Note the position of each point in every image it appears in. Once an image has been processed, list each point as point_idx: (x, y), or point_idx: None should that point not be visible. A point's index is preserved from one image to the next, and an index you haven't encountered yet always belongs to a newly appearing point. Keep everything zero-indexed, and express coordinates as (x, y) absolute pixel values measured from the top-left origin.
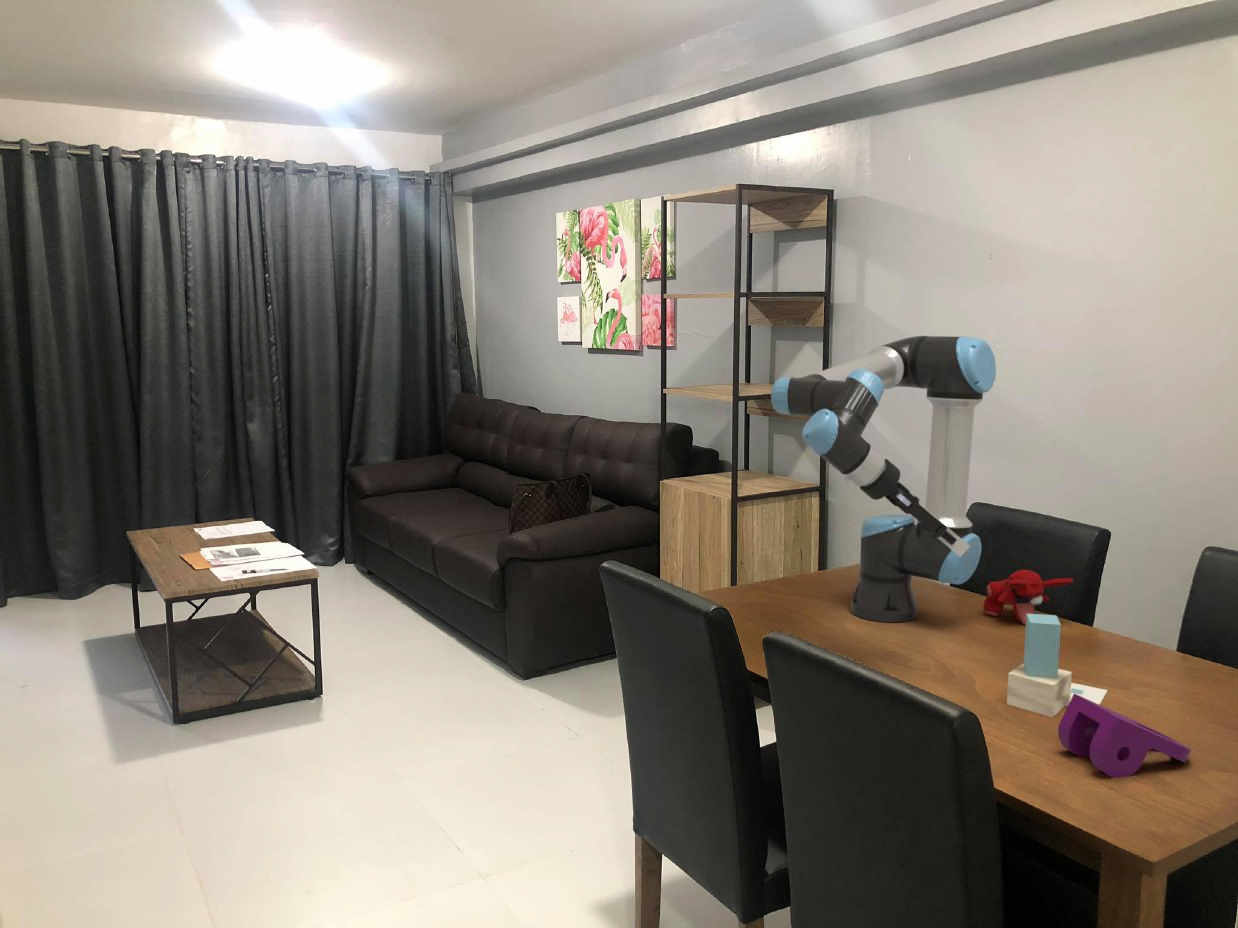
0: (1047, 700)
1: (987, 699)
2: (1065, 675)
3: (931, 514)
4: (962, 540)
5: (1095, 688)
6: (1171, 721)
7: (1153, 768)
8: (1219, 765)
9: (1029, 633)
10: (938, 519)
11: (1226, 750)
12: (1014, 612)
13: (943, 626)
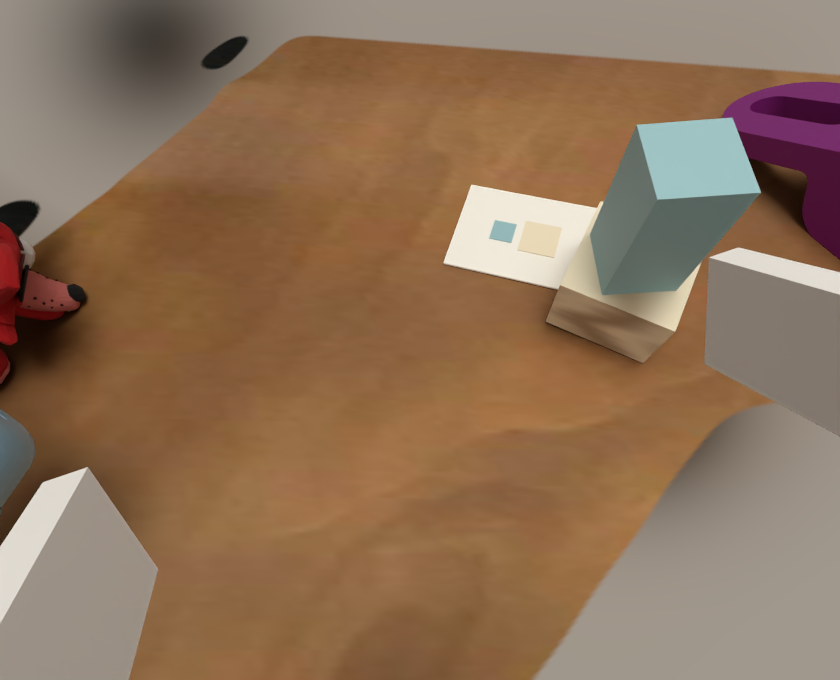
0: None
1: (631, 403)
2: None
3: (2, 636)
4: (828, 276)
5: (470, 202)
6: (584, 113)
7: None
8: (748, 76)
9: (739, 217)
10: (60, 519)
11: (676, 64)
12: (36, 318)
13: None
